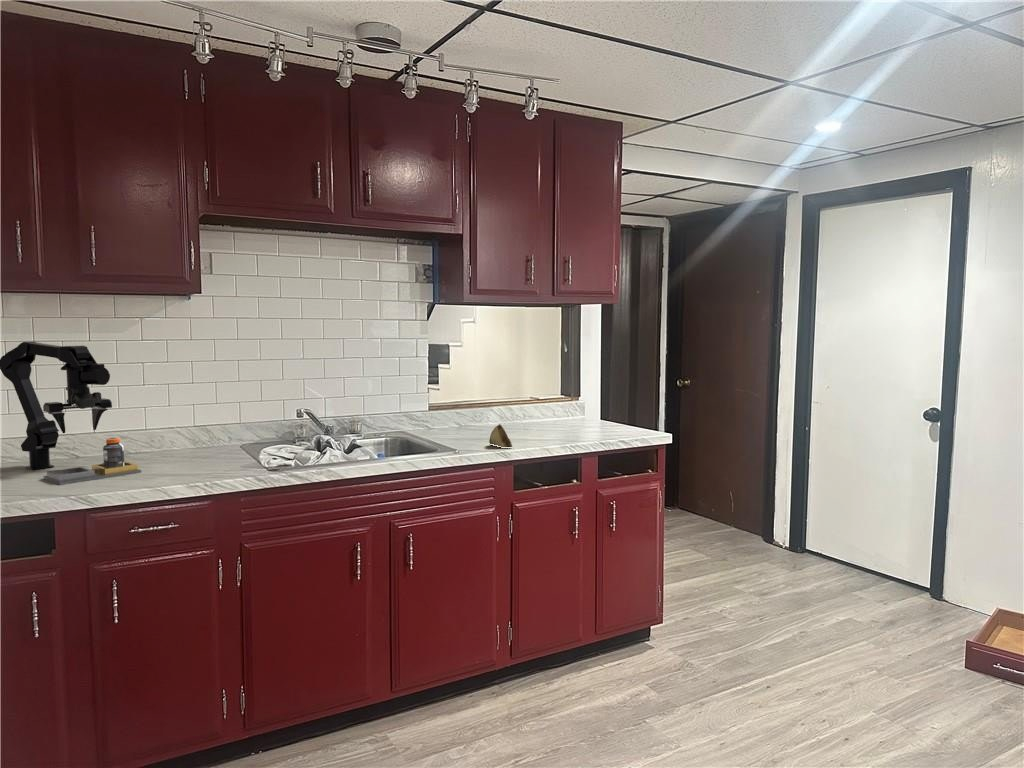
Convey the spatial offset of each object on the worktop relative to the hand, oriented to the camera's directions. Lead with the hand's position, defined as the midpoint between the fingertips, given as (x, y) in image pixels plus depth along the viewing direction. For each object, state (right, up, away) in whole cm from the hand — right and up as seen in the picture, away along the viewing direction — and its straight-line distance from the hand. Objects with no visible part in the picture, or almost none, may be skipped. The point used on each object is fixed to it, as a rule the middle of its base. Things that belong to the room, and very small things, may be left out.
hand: (79, 431), depth 237 cm
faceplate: (+8, -14, -6) cm, 17 cm away
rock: (+137, -10, +53) cm, 147 cm away
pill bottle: (+12, -14, -1) cm, 18 cm away
